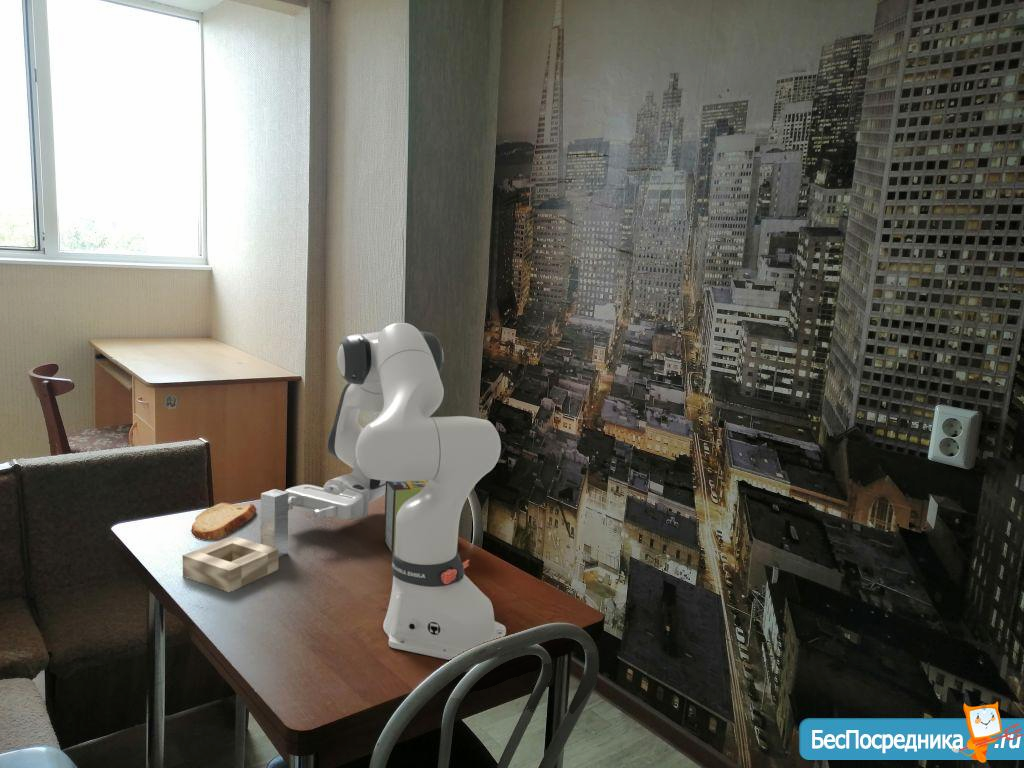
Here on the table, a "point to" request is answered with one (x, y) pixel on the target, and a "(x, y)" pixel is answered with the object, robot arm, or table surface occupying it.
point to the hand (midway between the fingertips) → (300, 510)
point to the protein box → (398, 505)
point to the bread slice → (221, 520)
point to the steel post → (275, 520)
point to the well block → (230, 563)
